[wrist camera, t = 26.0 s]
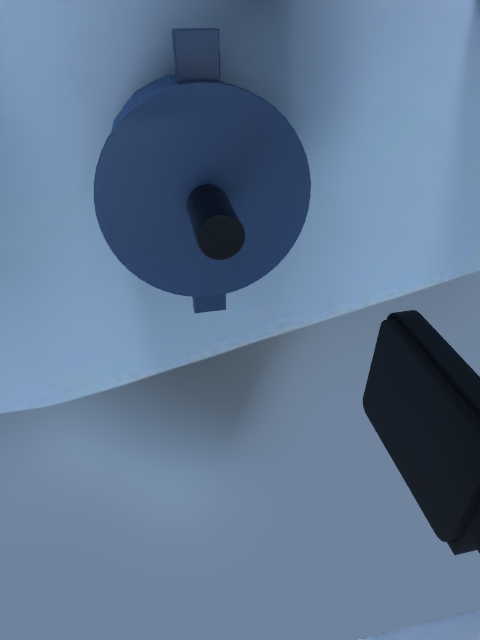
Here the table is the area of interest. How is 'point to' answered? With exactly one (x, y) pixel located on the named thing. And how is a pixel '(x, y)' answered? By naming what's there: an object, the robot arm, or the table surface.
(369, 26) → the table surface
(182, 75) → the pot
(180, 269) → the lid
